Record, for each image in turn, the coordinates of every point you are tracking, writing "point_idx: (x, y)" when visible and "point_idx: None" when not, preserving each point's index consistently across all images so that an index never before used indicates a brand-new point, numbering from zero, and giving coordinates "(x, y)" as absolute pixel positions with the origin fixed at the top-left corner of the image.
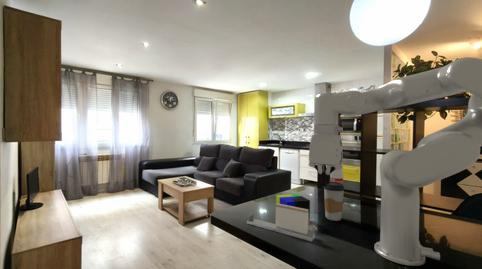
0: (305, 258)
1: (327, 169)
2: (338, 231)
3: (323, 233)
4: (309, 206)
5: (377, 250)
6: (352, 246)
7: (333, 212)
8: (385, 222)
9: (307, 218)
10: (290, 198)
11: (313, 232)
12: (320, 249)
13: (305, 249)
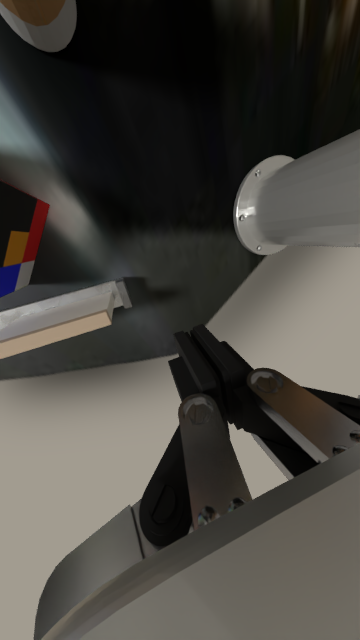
0: (161, 355)
1: (287, 463)
2: (138, 178)
3: (119, 232)
4: (14, 190)
5: (243, 242)
6: (198, 248)
7: (50, 16)
8: (306, 238)
9: (112, 313)
10: None
11: (127, 293)
12: (161, 313)
13: (143, 335)
